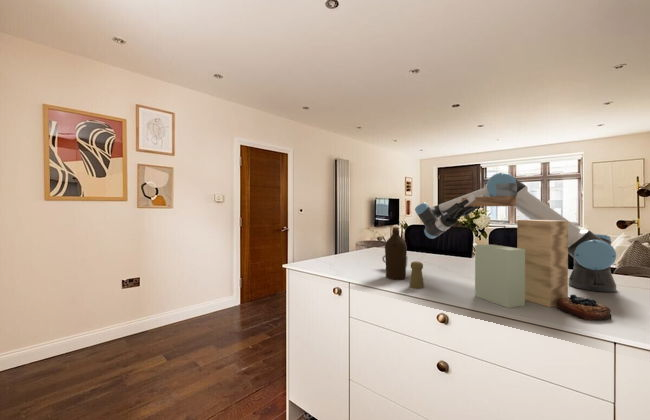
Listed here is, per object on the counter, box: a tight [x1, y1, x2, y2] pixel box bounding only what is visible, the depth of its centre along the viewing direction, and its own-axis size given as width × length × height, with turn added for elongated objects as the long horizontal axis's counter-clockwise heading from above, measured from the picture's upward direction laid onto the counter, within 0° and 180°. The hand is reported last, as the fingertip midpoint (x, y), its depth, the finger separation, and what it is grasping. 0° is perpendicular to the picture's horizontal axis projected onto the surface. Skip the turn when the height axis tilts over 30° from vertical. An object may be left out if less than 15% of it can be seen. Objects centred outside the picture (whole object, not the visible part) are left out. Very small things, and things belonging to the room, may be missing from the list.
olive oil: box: [384, 226, 408, 281], centre depth 140 cm, size 11×11×25 cm
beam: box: [462, 183, 517, 207], centre depth 122 cm, size 5×24×9 cm, turn 17°
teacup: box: [382, 254, 409, 268], centre depth 159 cm, size 14×11×8 cm
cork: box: [409, 260, 425, 290], centre depth 124 cm, size 6×6×11 cm
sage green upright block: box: [474, 243, 526, 309], centre depth 105 cm, size 8×14×20 cm, turn 18°
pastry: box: [556, 294, 612, 322], centre depth 92 cm, size 11×12×6 cm
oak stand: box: [516, 219, 569, 308], centre depth 105 cm, size 9×12×30 cm
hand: (478, 196), depth 126 cm, fingers closed on beam, 4 cm apart
